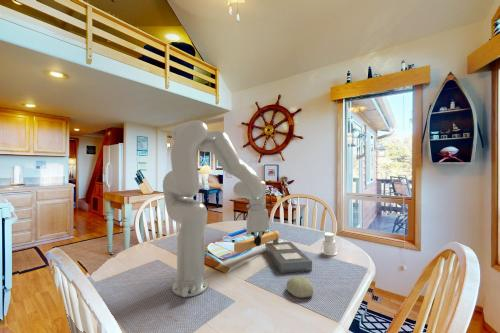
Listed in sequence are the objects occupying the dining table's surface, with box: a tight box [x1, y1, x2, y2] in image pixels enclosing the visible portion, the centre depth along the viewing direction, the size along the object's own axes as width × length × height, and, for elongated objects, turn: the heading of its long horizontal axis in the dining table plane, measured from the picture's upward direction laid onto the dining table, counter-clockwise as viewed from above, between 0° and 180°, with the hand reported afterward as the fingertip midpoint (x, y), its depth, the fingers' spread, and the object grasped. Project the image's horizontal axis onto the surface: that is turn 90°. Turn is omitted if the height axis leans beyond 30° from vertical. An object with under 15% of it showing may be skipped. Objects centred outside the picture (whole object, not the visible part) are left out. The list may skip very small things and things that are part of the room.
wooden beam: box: [233, 230, 280, 254], centre depth 111 cm, size 30×4×4 cm, turn 135°
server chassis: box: [264, 239, 313, 274], centre depth 107 cm, size 30×14×5 cm, turn 12°
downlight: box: [320, 232, 339, 256], centre depth 114 cm, size 8×7×10 cm
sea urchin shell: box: [286, 275, 314, 299], centre depth 78 cm, size 9×8×8 cm
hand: (257, 245), depth 105 cm, fingers closed
